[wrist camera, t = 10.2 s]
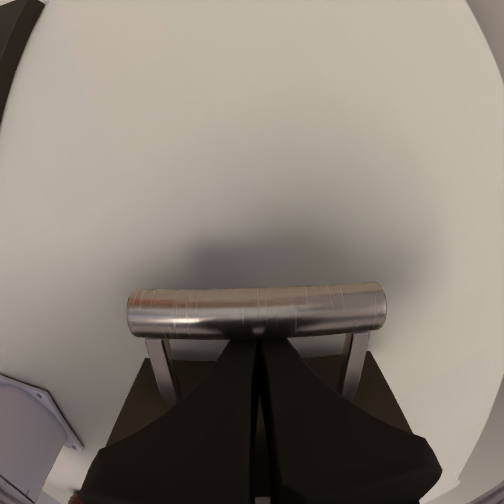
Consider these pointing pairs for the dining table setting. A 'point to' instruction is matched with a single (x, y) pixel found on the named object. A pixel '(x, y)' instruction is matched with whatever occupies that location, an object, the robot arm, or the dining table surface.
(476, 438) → the dining table surface
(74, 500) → the mug
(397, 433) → the robot arm
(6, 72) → the block
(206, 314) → the dark drawer with handle
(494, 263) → the dining table surface
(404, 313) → the dining table surface
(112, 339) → the dining table surface
